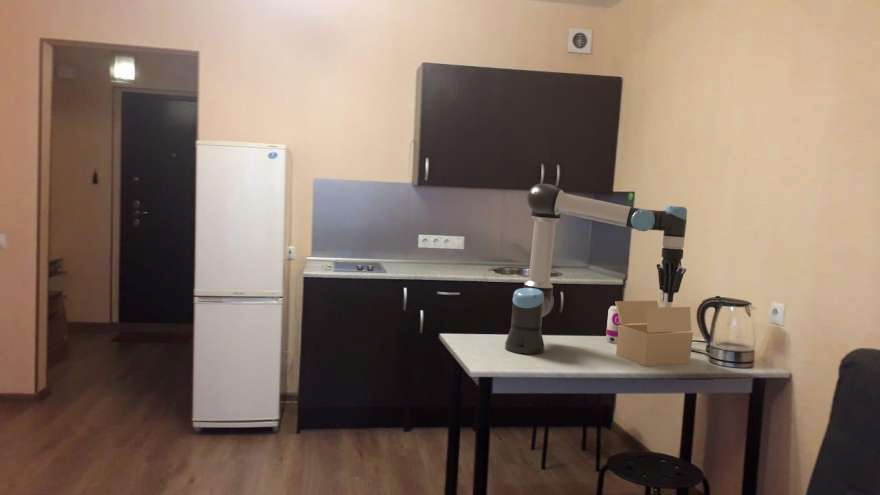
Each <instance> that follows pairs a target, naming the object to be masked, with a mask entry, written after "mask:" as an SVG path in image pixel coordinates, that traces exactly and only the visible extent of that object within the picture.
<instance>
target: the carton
mask: <svg viewBox="0 0 880 495" xmlns="http://www.w3.org/2000/svg"><path fill="white" fill-rule="evenodd" d="M693 333H694V332H693V331H673V332H647V323H631V324H627V325H619V327H618V339H617V344H616V351H615V352H616V353H615V355H616V356H617V357H620V358H622V359H625V360H627V361H629V362H632V363H635V364H637V365H639V366H642V367H656V366H657V367H658V366H670V365H671V366H672V365H687V364H688V365H689V364H690V363H691V357H692V356H691V354H692V346H693V345H692V344H693V343H692V342H693V336H694V335H693Z"/></svg>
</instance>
